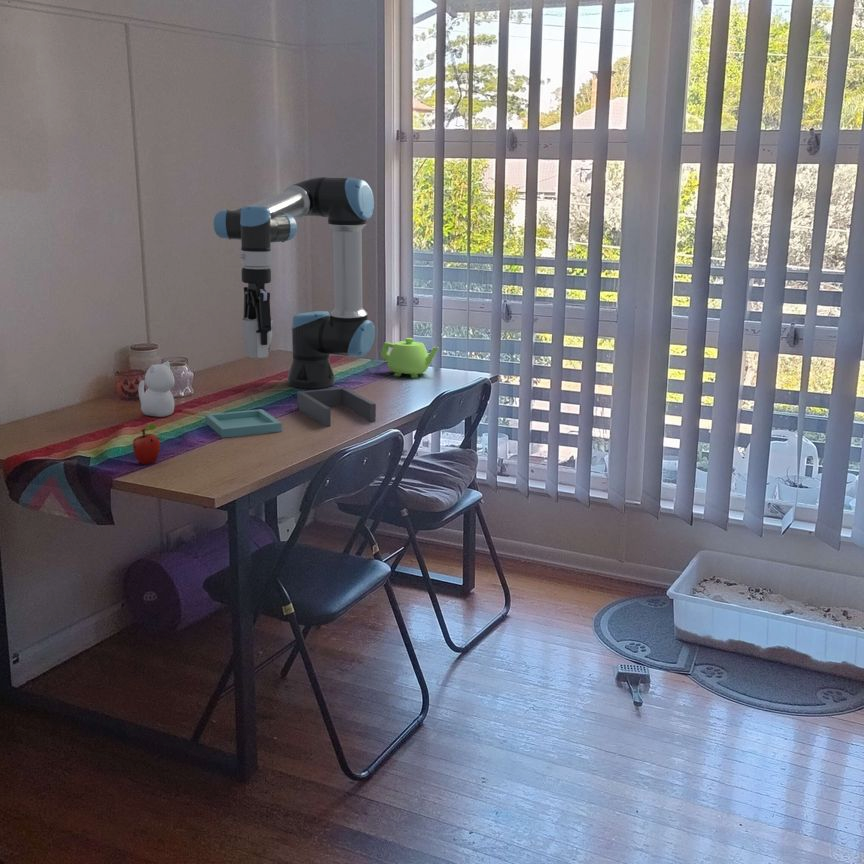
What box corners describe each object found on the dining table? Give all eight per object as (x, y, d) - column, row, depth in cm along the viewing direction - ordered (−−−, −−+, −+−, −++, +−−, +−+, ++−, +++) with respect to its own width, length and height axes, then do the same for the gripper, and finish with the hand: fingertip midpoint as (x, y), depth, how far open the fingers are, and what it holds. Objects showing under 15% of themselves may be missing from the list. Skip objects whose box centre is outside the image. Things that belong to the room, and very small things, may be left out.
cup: (266, 360, 252) (266, 322, 249) (237, 358, 253) (236, 320, 250) (277, 354, 259) (277, 317, 257) (248, 352, 261) (248, 316, 258)
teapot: (442, 373, 333) (443, 337, 329) (431, 381, 320) (433, 343, 317) (387, 368, 337) (387, 333, 334) (374, 376, 325) (375, 339, 322)
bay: (297, 408, 280) (297, 391, 279) (344, 403, 287) (344, 387, 286) (325, 426, 262) (325, 408, 260) (375, 421, 269) (375, 403, 267)
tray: (205, 422, 262) (205, 414, 261) (262, 417, 270) (261, 409, 269) (222, 437, 249) (222, 429, 248) (281, 431, 256) (281, 423, 255)
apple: (125, 464, 225) (123, 423, 222) (143, 457, 231) (141, 416, 228) (153, 469, 222) (150, 427, 219) (170, 461, 228) (168, 420, 226)
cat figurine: (161, 421, 263) (159, 367, 259) (127, 414, 268) (125, 361, 264) (184, 414, 270) (182, 362, 266) (150, 407, 276) (148, 356, 272)
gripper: (229, 263, 257) (231, 348, 263) (255, 271, 240) (256, 362, 245) (256, 263, 260) (258, 346, 266) (284, 271, 243) (284, 360, 249)
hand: (257, 354), depth 256 cm, fingers closed on cup, 8 cm apart
